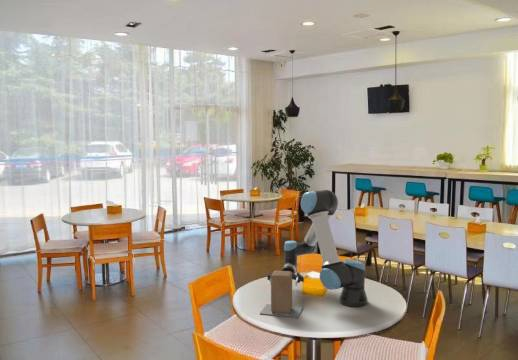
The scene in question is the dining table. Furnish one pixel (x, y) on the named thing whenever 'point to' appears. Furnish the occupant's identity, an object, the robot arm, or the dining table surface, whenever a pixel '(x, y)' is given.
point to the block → (281, 292)
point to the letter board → (293, 313)
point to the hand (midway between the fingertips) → (283, 282)
